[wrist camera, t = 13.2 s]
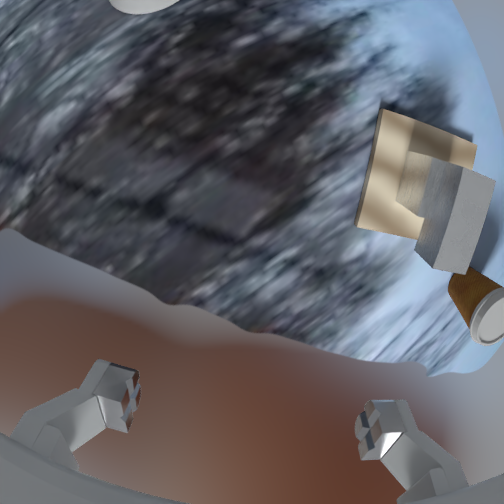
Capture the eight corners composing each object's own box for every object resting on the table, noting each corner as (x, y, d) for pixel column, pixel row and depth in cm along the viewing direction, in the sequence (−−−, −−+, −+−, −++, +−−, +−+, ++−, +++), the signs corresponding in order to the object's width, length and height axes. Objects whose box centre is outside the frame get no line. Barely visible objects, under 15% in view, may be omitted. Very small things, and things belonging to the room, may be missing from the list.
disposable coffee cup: (445, 316, 47) (476, 358, 36) (435, 274, 44) (471, 315, 33) (485, 290, 45) (520, 327, 34) (479, 247, 42) (521, 281, 31)
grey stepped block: (407, 150, 36) (456, 164, 25) (448, 165, 36) (501, 183, 25) (387, 228, 40) (425, 267, 29) (427, 238, 40) (471, 276, 29)
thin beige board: (379, 109, 35) (399, 107, 29) (471, 144, 36) (497, 149, 30) (354, 223, 41) (368, 240, 36) (445, 243, 42) (466, 261, 36)
